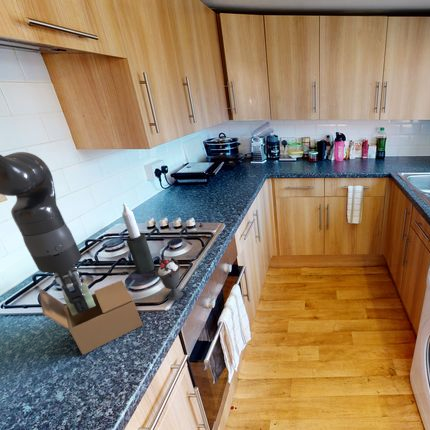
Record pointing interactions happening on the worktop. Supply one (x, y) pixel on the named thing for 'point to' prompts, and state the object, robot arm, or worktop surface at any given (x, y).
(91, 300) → the block
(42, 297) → the carton flap
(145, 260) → the candle
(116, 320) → the carton
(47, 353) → the worktop surface
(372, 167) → the worktop surface
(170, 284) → the sundae
